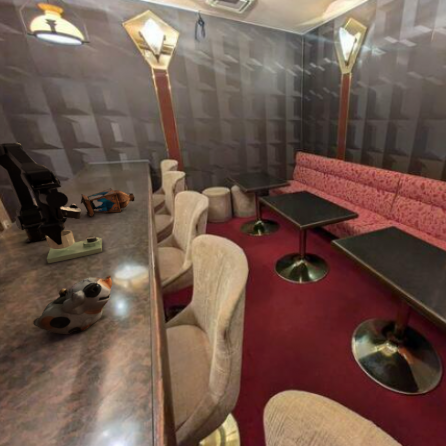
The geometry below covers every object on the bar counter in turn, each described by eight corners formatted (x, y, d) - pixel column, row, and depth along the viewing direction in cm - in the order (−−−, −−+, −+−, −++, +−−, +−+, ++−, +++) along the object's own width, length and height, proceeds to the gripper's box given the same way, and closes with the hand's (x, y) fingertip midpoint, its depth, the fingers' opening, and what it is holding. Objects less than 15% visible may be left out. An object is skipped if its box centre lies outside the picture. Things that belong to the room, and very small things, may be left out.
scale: (48, 263, 91) (45, 255, 90) (52, 251, 100) (49, 243, 99) (103, 251, 101) (101, 244, 100) (102, 241, 110) (100, 234, 108)
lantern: (90, 226, 140) (139, 214, 157) (86, 210, 129) (139, 199, 146) (79, 203, 144) (128, 194, 161) (75, 186, 132) (128, 178, 149)
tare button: (87, 243, 101) (86, 239, 100) (87, 240, 103) (86, 237, 102) (96, 241, 102) (95, 238, 102) (96, 239, 104) (95, 235, 104)
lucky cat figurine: (71, 302, 72) (89, 260, 72) (112, 317, 74) (130, 275, 73) (18, 328, 57) (40, 275, 57) (71, 346, 59) (93, 294, 58)
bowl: (51, 244, 98) (47, 232, 96) (75, 239, 102) (72, 228, 100) (49, 251, 92) (44, 239, 91) (74, 246, 97) (71, 235, 95)
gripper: (75, 206, 89) (87, 244, 94) (77, 194, 102) (87, 228, 108) (31, 211, 82) (47, 252, 88) (39, 198, 96) (53, 234, 101)
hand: (61, 240), depth 96 cm, fingers closed on bowl, 7 cm apart
